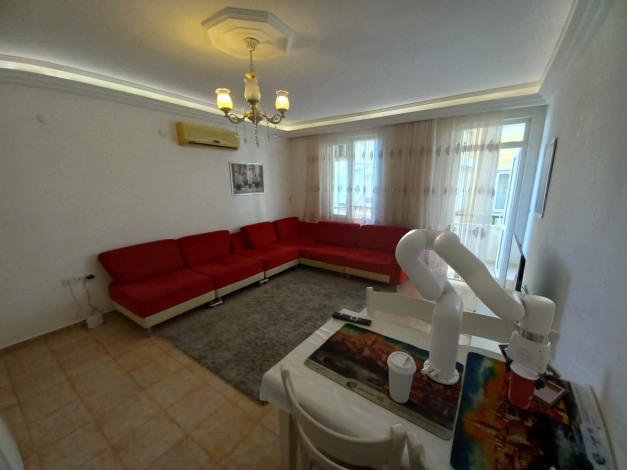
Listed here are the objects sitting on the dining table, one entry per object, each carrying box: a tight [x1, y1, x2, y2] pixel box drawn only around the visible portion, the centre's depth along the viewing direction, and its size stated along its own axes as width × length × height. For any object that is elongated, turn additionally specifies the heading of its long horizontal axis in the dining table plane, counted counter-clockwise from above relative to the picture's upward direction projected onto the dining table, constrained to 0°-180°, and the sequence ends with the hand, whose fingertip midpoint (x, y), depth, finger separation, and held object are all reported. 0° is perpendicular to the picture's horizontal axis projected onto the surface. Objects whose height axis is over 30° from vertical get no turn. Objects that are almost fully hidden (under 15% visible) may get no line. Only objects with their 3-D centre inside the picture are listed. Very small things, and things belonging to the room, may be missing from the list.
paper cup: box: [507, 360, 540, 410], centre depth 81 cm, size 8×8×14 cm
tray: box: [506, 376, 566, 409], centre depth 88 cm, size 12×12×2 cm
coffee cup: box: [386, 351, 417, 404], centre depth 84 cm, size 10×10×15 cm
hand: (523, 378), depth 81 cm, fingers closed on paper cup, 7 cm apart
